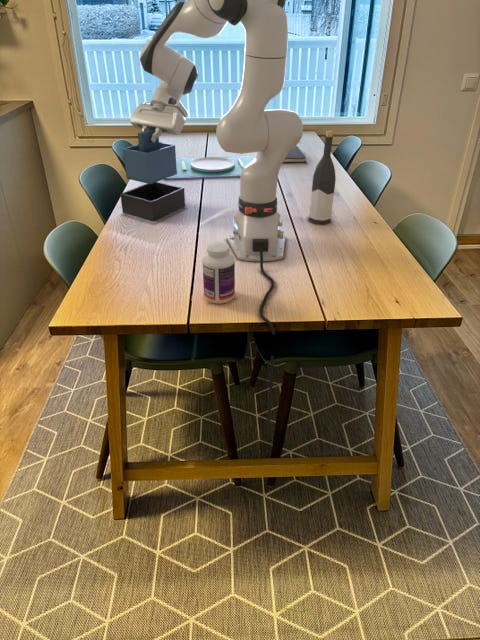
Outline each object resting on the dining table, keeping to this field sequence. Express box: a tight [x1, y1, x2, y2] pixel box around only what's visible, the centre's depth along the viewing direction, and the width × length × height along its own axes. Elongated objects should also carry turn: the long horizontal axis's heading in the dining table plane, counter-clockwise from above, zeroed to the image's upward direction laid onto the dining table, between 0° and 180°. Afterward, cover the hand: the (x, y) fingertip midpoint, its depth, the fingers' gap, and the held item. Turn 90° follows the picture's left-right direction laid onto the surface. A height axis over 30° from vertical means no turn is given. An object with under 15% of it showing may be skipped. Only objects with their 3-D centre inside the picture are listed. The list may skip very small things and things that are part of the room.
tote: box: [119, 181, 186, 223], centre depth 170 cm, size 18×15×8 cm
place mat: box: [164, 155, 256, 181], centre depth 217 cm, size 45×30×2 cm
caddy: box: [122, 129, 177, 184], centre depth 161 cm, size 14×11×15 cm
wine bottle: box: [308, 130, 337, 225], centre depth 159 cm, size 8×8×30 cm
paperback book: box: [282, 145, 307, 164], centre depth 234 cm, size 16×23×2 cm
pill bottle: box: [202, 241, 236, 304], centre depth 119 cm, size 8×8×14 cm
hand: (147, 140), depth 158 cm, fingers closed on caddy
